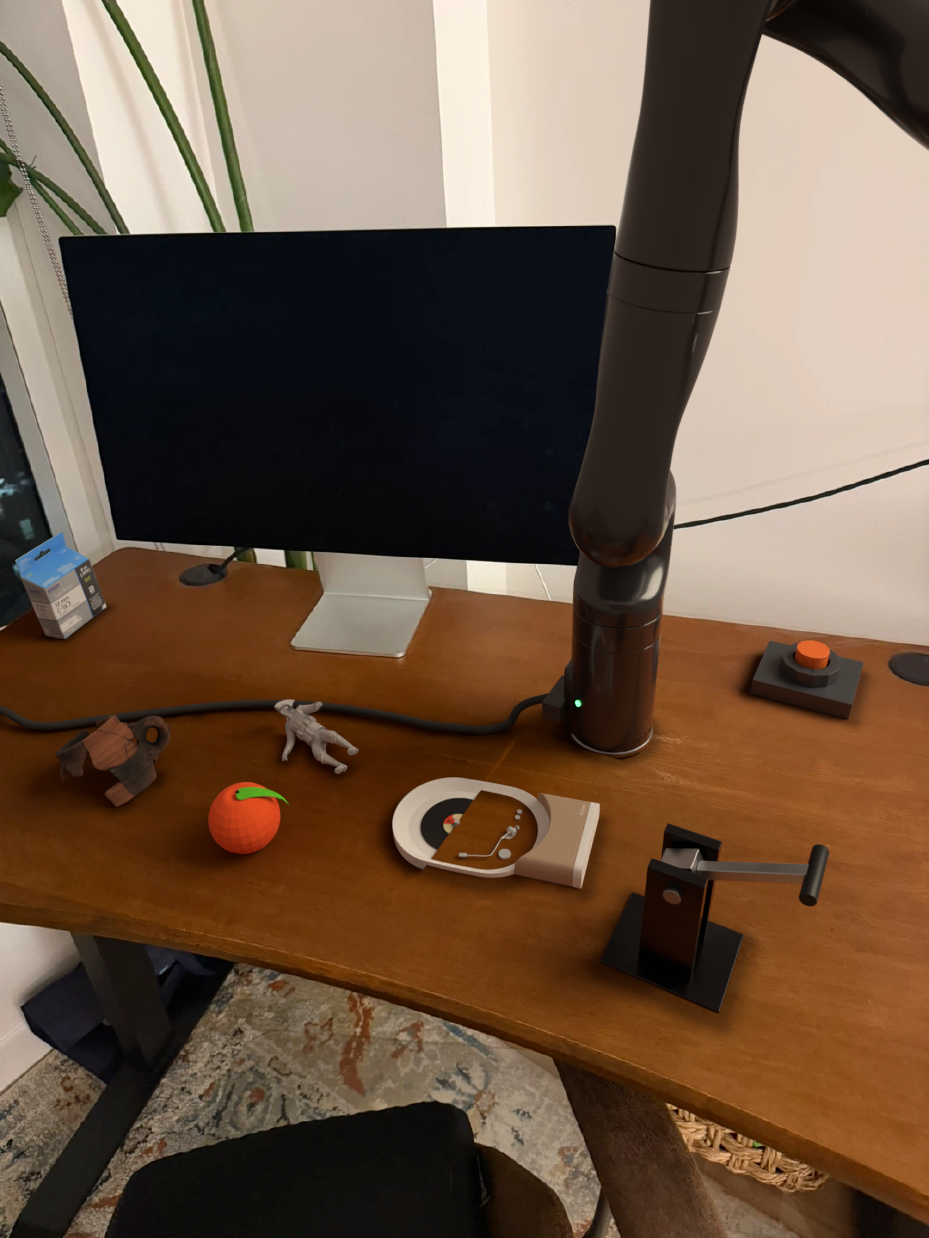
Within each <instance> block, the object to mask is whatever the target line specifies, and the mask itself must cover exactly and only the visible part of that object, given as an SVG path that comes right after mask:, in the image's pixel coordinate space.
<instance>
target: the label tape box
mask: <svg viewBox="0 0 929 1238" xmlns="http://www.w3.org/2000/svg"><path fill="white" fill-rule="evenodd" d="M47 550H49V552H48V553H46V554H45V555H43V556H42V557H39V558H38V559H36V560H35V558H36V557H38V556H39V555H40V553H41V552H46V551H47ZM15 565H16V568H17V570H18V573H19V576H20V580H21V582H22V584H23V586H24V589H25V592H26V594H27V596H28V599H29V600H30V603H31V605H32V608H33V610H34V612H35V615H36V617H37V620H38V622H39V625H40V626H41V628H42V631H43V634H44V636H45V637H51V638H55V639H61V640H63V639H64V640H66V639H67V638H69V637H71V635H72V634H74V633H75V632H76V631H78V630H79V629H80V628H81V627H83V626H85V624H86V623H88V622H89V621H90V620H92V619H93V618H94V617H95V616H97V615H98V614H100V613H101V612H102V611H103V610H105V609H106V608H107V605H106V602H105V599H104V595H103V594H102V590H101V587H100V585H99V582H98V580H97V576H96V573H95V571H94V567H93V565H92V562H91V560H90V559H89V558H88V557H86V556H85V555H82V554H81V553H80V552H78V551H76V550H73V549H72V548H70V547H69V546H67V544H66V540H65V537H64V531H60V532H59V533H57V534H55V535H54V536H53V537H50V538H49V539H47V540H45V541H43V543H41V544H39V545H37V546H36V547H34V548H33V549H31V550H30V551H27V553H24V554H23V555H22V556H20V557H17V559H15Z"/></svg>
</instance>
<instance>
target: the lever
mask: <svg viewBox="0 0 929 1238" xmlns="http://www.w3.org/2000/svg"><path fill="white" fill-rule="evenodd" d="M829 856H830V850H829V848H828V847H827V846H825V845H823V844H819V843H817V844H813V846H812V847H811V850H810V853H809V857H808V861H807V863H784V862H752V861H722V860H721V861H720V860H719V861H704V860H703V857H702V855H701V853H700V850H699V849H686V848H666V850H665V852H664V855H663V857H662V859H661V858H660V861H662V862H665V863H667V864H670V865H673V866H676V867H679V868H681V869H684V870H687V871H690V872H692V873H695V874H698V875H701V876H704V877H706V878H708V880H716V881H722V882H742V883H743V882H744V883H763V884H764V883H767V884H785V885H786V884H787V885H801V887H800V891H799V894H798V901H799V902H800V903H801V904H802V905H804V906H806V907H815V906H816V905H817V904H818V901H819V897H820V893H821V889H822V886H823V885H822V884H823V880H824V876H825V872H826V868H827V864H828V860H829Z"/></svg>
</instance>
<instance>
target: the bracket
mask: <svg viewBox="0 0 929 1238" xmlns="http://www.w3.org/2000/svg"><path fill="white" fill-rule="evenodd" d="M722 845H723V841H722V840H720V839H716V838H713V837H710V836H709V835H708V836H707V835H705V834H701V833H698V832H695V831H693V830H689V829H686V828H685V827H681V826H678V825H675V824H672V823H667V824H666V825H665V827H664V830H663V837H662V847H661V854H660V855H661V856H660V860H659V859H656V858H654V857H651V858H650V860H649V861H648V864H647V868H646V877H645V887H644V895H642V894H639V893H637V892H634V891H631V894H630V896H629V898H628V900H627V902H626V904H625V907H624V908H623V911H622V913H621V915H620V917H619V919H618V921H617V924H616V926H615V928H614V930H613V933H612V934H611V937H610V939H609V941H608V943H607V945H606V947H605V950H604V952H603V954H602V956H601V959H600V961H599V963H600V964H602V965H604V966H607V967H608V968H611V969H614V970H616V971H618V972H621V973H623V974H626V975H628V976H629V977H633V978H635V979H637V980H639V981H642V982H644V983H646V984H649V985H651V986H654V987H656V988H659V989H661V990H663V991H665V992H668V993H669V994H672V995H675V996H677V997H679V998H682V999H684V1000H686V1001H689V1002H691V1003H694V1004H696V1005H698V1006H701V1007H703V1008H705V1009H708V1010H710V1011H711V1012H712V1011H713V1012H715V1013H717V1014H720V1012H721V1008H722V1006H723V1003H724V1000H725V996H726V994H727V990H728V988H729V984H730V981H731V978H732V975H733V971H734V968H735V965H736V962H737V958H738V956H739V952H740V950H741V946H742V943H743V940H744V937H745V934H744V933H742V932H739V931H736V930H734V929H731V928H728V927H726V926H724V925H720V924H717V923H715V922H713V921H710V917H711V912H712V906H713V900H714V893H715V888H716V881H717V880H708V878H706V877H704V876H701V875H698V874H695V873H692V872H690V871H687V870H684V869H681V868H679V867H676V866H673V865H670V864H667V863H665V862H662V861H661V859H662V857H663V855H664V852H665V850H666V848H686V849H699V850H700V853H701V855H702V857H703V860H704V861H720V857H721V852H722V847H723V846H722Z"/></svg>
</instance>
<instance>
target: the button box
mask: <svg viewBox="0 0 929 1238" xmlns="http://www.w3.org/2000/svg"><path fill="white" fill-rule="evenodd" d="M799 643H800V642H795V643H792V644H788V643H783V642H779V641H774V640H769V641H768V642H767V646H766V647H765V650H764V653H763V654H762V657H761V660H760V661H759V664H758V666H757V669H756V671H755V672H754V675H753V677H752V681H751V687H750V695H754V696H756V697H760V698H764V699H768V700H771V701H776V702H779V703H783V704H786V705H787V704H788V705H792V706H795V707H799V708H803V709H807V710H810V711H813V712H814V711H815V712H818V713H822V714H825V715H828V716H829V715H830V716H833V717H837V718H841V719H844V720H849V719H850V716H851V712H852V709H853V705H854V701H855V698H856V695H857V690H858V686H859V684H860V683H859V682H860V678H861V675H862V671H863V667H864V664H865V663H864V661H860V660H856V659H853V658H848V657H844V656H839V655H838V654H837V653H836V652H835V651H834V650H832V649H831V648H829V650H830V653H829V658H828V662H827V666H826V667H825V668H823V669H809V668H805V667H802V666H801V665H799V664H797V663H796V662H795V654H796V649H797V645H798V644H799Z"/></svg>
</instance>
